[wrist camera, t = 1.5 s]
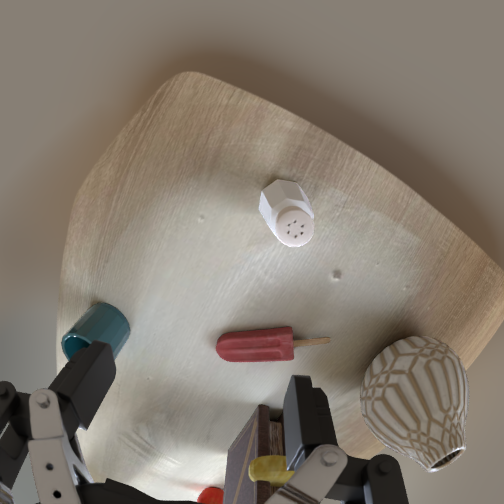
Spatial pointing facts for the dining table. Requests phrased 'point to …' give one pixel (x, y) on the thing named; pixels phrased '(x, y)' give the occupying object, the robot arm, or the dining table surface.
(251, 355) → the popsicle
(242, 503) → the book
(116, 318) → the cup
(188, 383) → the dining table surface
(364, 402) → the vase
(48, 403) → the robot arm
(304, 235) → the pepper shaker
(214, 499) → the apple
